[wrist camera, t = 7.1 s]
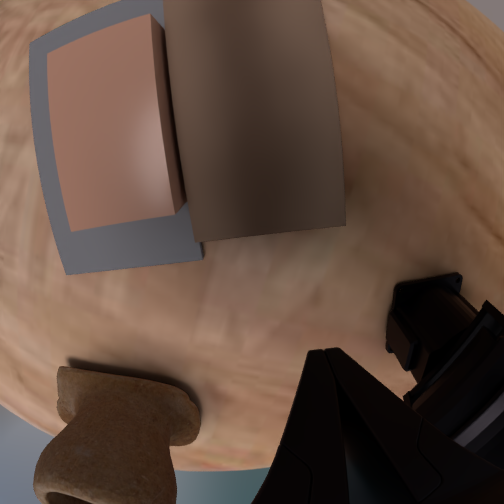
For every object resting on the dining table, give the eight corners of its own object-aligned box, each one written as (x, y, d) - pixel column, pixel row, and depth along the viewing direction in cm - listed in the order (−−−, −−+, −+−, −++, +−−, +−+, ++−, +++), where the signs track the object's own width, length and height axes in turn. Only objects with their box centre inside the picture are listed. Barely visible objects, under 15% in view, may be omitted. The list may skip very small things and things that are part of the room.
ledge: (305, -1, 13) (315, -22, 10) (331, 211, 18) (345, 225, 15) (174, 12, 13) (162, -6, 10) (203, 225, 18) (194, 242, 16)
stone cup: (200, 359, 23) (170, 541, 9) (203, 436, 27) (190, 562, 13) (43, 331, 22) (-39, 449, 8) (76, 411, 26) (33, 512, 12)
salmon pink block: (150, 13, 10) (47, 53, 10) (175, 214, 13) (71, 231, 14) (170, 36, 13) (82, 64, 14) (190, 197, 17) (102, 211, 17)
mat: (168, -10, 13) (166, -14, 12) (203, 256, 19) (202, 260, 19) (34, 44, 13) (29, 43, 12) (70, 271, 20) (66, 275, 19)
